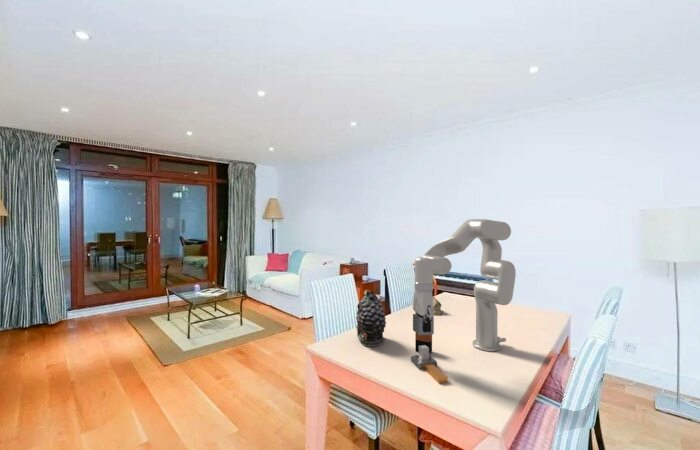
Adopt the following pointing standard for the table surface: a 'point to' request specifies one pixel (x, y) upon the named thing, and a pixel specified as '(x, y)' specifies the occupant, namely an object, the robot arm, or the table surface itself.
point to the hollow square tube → (421, 324)
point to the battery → (423, 341)
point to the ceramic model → (436, 307)
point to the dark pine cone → (370, 320)
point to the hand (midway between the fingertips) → (423, 328)
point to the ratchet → (428, 364)
